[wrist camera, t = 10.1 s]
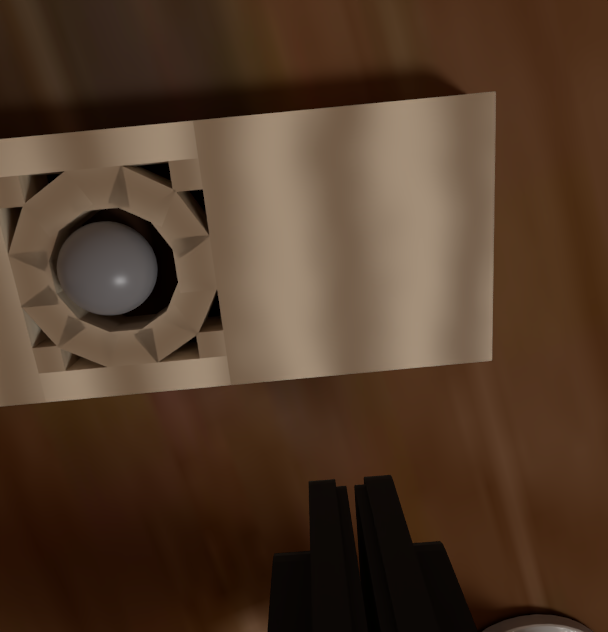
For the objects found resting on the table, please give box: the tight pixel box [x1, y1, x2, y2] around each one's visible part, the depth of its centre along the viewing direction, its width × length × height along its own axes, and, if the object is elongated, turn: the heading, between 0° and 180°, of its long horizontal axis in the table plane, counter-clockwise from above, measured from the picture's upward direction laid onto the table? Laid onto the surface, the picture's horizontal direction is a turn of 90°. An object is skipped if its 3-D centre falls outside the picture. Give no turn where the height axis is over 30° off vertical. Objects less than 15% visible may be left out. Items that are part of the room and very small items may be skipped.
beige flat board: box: [0, 92, 496, 406], centre depth 28 cm, size 28×14×3 cm, turn 95°
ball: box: [57, 221, 158, 315], centre depth 27 cm, size 5×5×5 cm
